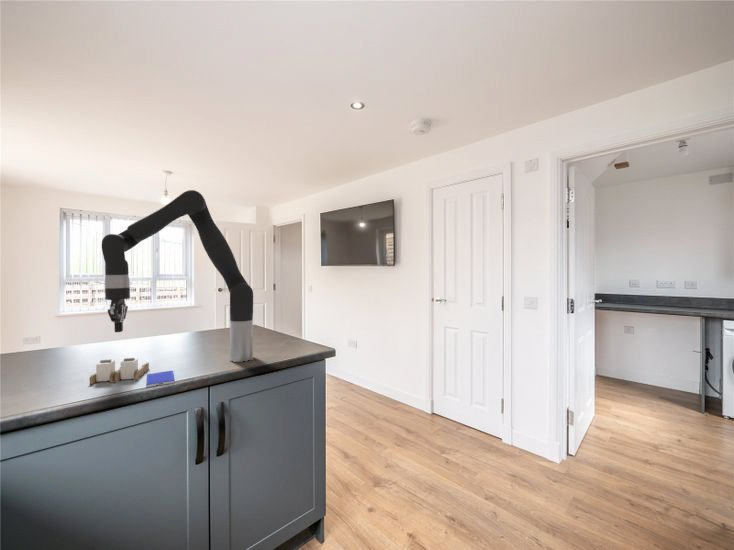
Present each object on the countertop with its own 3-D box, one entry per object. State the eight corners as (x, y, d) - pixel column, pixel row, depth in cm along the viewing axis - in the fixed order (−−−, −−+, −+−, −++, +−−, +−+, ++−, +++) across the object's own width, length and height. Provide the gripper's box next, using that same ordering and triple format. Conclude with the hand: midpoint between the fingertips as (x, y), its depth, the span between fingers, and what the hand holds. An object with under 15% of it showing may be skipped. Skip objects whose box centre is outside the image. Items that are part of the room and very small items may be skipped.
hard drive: (146, 374, 118) (146, 384, 107) (173, 370, 122) (174, 379, 112) (146, 378, 118) (146, 389, 107) (173, 374, 122) (174, 384, 112)
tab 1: (115, 376, 116) (114, 358, 116) (110, 380, 112) (110, 361, 112) (101, 378, 115) (101, 358, 115) (96, 381, 111) (96, 362, 111)
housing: (127, 370, 125) (127, 363, 124) (112, 382, 111) (112, 374, 111) (107, 372, 122) (107, 364, 122) (89, 384, 109) (89, 376, 109)
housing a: (148, 368, 127) (148, 361, 127) (136, 380, 114) (136, 372, 114) (129, 370, 125) (129, 363, 125) (114, 382, 111) (114, 374, 111)
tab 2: (137, 374, 119) (137, 356, 118) (134, 378, 115) (134, 359, 115) (124, 376, 117) (124, 357, 117) (120, 379, 113) (120, 360, 113)
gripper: (122, 287, 119) (124, 334, 119) (135, 285, 131) (136, 328, 132) (97, 288, 116) (99, 336, 117) (112, 286, 129) (114, 329, 129)
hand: (118, 331), depth 124 cm, fingers closed
